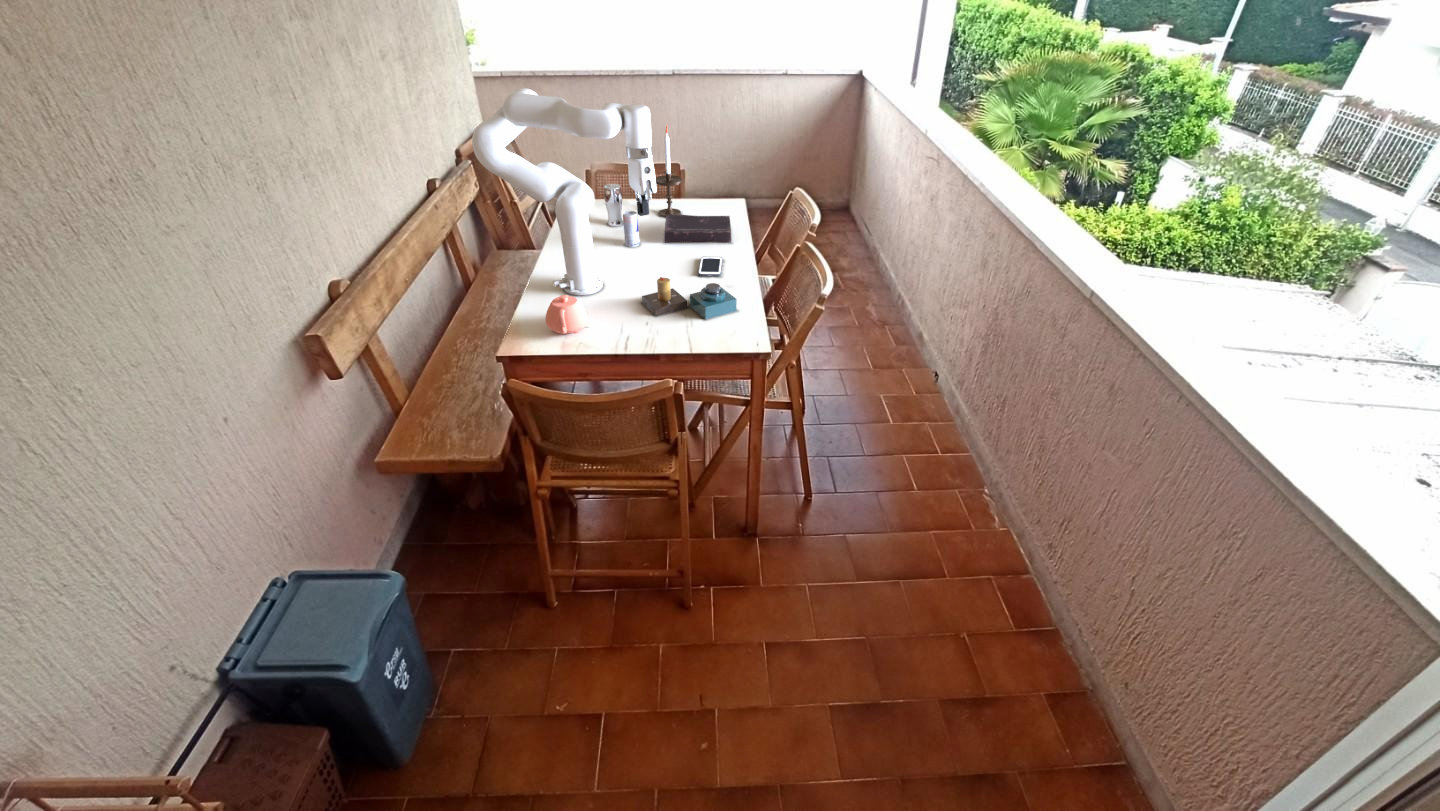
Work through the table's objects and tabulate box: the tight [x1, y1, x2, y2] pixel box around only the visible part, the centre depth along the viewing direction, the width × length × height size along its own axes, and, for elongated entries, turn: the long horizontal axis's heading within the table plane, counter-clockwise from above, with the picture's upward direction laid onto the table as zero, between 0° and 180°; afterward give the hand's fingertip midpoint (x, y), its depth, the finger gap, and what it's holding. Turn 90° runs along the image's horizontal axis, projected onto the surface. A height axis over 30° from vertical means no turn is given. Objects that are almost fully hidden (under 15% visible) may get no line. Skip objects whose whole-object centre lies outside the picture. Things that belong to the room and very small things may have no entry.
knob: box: [656, 276, 672, 301], centre depth 199 cm, size 4×4×6 cm
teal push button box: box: [689, 286, 737, 320], centre depth 199 cm, size 11×10×6 cm
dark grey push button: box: [705, 282, 721, 295], centre depth 196 cm, size 4×4×2 cm
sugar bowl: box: [545, 294, 589, 335], centre depth 187 cm, size 12×14×10 cm
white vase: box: [603, 183, 624, 228], centre depth 254 cm, size 7×7×15 cm
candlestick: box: [655, 124, 683, 219], centre depth 257 cm, size 11×11×35 cm
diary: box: [663, 214, 732, 244], centre depth 248 cm, size 19×25×5 cm
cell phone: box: [698, 256, 724, 277], centre depth 224 cm, size 8×15×1 cm, turn 177°
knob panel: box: [641, 288, 689, 317], centre depth 201 cm, size 11×10×3 cm
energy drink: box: [622, 210, 641, 248], centre depth 238 cm, size 5×5×12 cm
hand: (643, 214), depth 196 cm, fingers closed
